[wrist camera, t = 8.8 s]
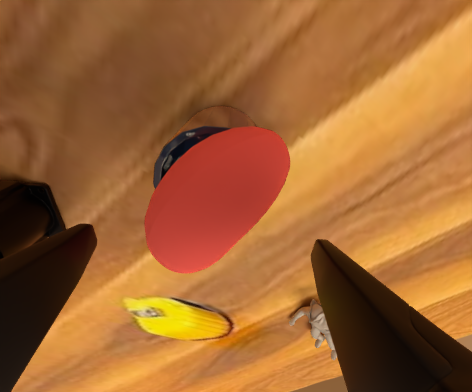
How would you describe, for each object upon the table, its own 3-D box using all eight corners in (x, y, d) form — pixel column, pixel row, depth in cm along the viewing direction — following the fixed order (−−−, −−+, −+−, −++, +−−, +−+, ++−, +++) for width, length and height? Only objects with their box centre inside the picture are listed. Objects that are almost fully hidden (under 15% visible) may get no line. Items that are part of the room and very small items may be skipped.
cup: (257, 187, 22) (266, 237, 15) (182, 182, 22) (159, 231, 15) (268, 109, 18) (285, 132, 12) (178, 102, 18) (145, 121, 12)
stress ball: (135, 169, 14) (103, 270, 11) (230, 73, 9) (221, 220, 6) (200, 198, 17) (190, 283, 14) (302, 141, 12) (322, 261, 9)
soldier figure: (297, 334, 37) (273, 320, 28) (310, 306, 38) (291, 285, 30) (346, 369, 31) (335, 365, 23) (359, 336, 33) (353, 320, 25)
